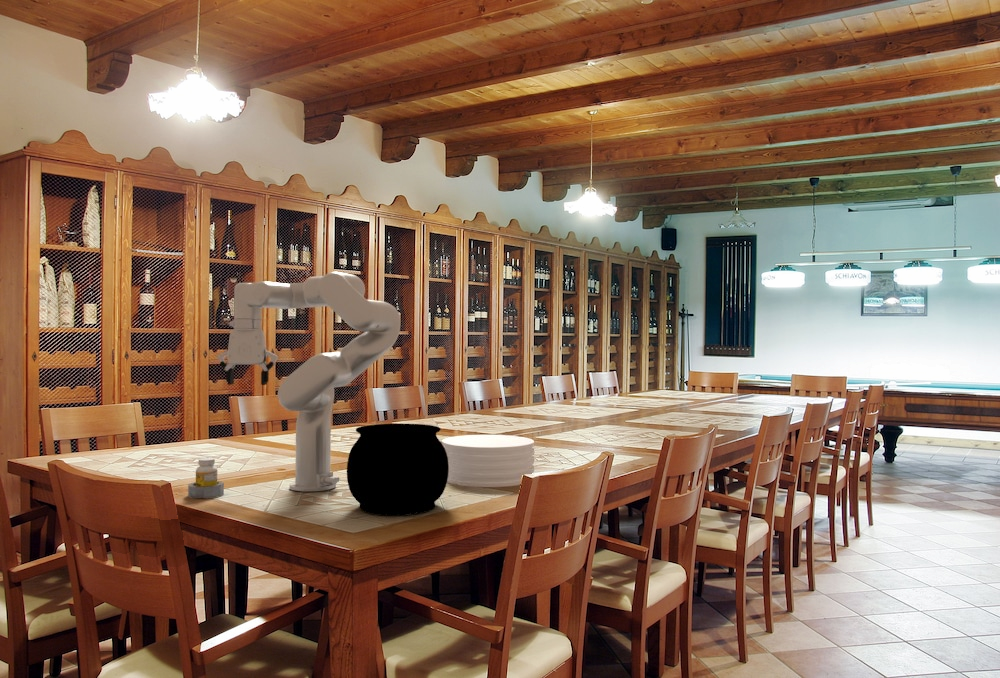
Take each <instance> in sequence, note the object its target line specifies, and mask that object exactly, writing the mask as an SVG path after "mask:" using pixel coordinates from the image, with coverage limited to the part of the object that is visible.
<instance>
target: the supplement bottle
mask: <svg viewBox="0 0 1000 678" xmlns="http://www.w3.org/2000/svg"><path fill="white" fill-rule="evenodd" d="M197 463H198V465H199V466H198V467H197V468H196V469H195V482H196V486H213V485H217V481H218V467H217V466H216V465H215V463H216V459H215V458H212V457H205V458H199V459H198V462H197Z"/></svg>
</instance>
